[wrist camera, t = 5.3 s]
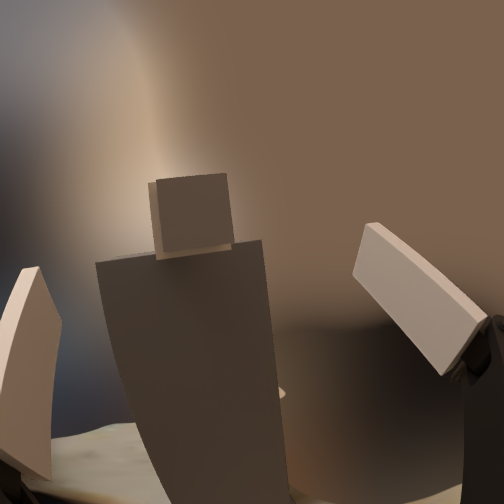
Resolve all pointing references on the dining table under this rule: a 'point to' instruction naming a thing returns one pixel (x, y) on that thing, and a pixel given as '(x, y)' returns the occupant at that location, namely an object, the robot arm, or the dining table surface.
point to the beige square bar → (190, 215)
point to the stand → (200, 371)
